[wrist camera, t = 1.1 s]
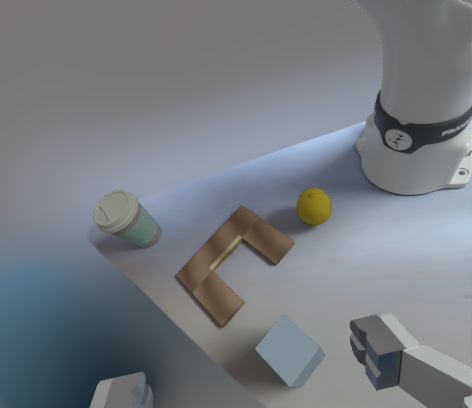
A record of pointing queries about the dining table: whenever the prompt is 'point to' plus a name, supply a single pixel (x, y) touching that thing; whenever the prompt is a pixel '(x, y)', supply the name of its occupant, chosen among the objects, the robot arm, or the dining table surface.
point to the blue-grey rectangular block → (290, 352)
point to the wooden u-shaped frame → (219, 249)
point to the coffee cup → (126, 219)
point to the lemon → (314, 206)
